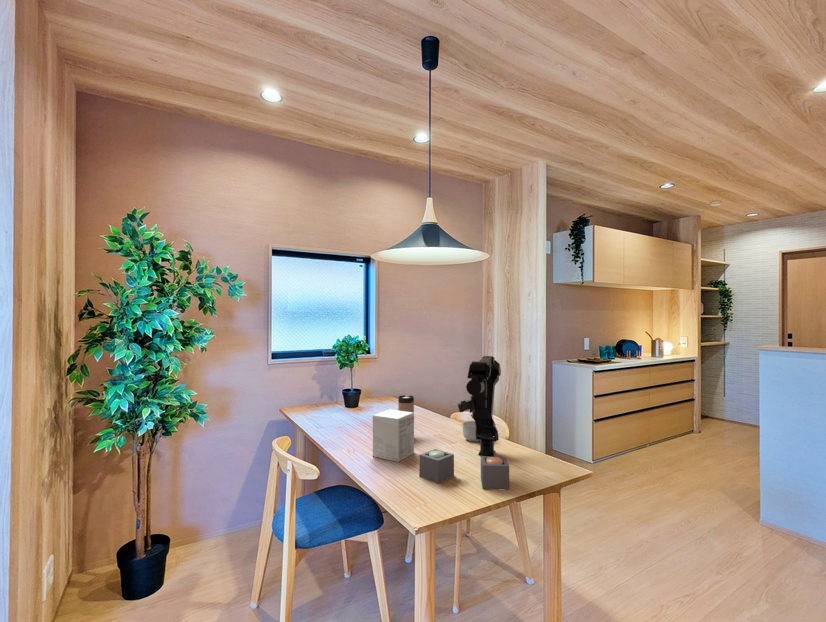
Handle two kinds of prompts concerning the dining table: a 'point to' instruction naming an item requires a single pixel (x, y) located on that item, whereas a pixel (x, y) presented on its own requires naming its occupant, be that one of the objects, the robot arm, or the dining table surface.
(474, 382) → the robot arm
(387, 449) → the supplement box
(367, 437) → the dining table surface
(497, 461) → the terracotta button
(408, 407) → the travel mug
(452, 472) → the grey button housing
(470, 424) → the teacup
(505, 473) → the terracotta button housing
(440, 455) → the green button
